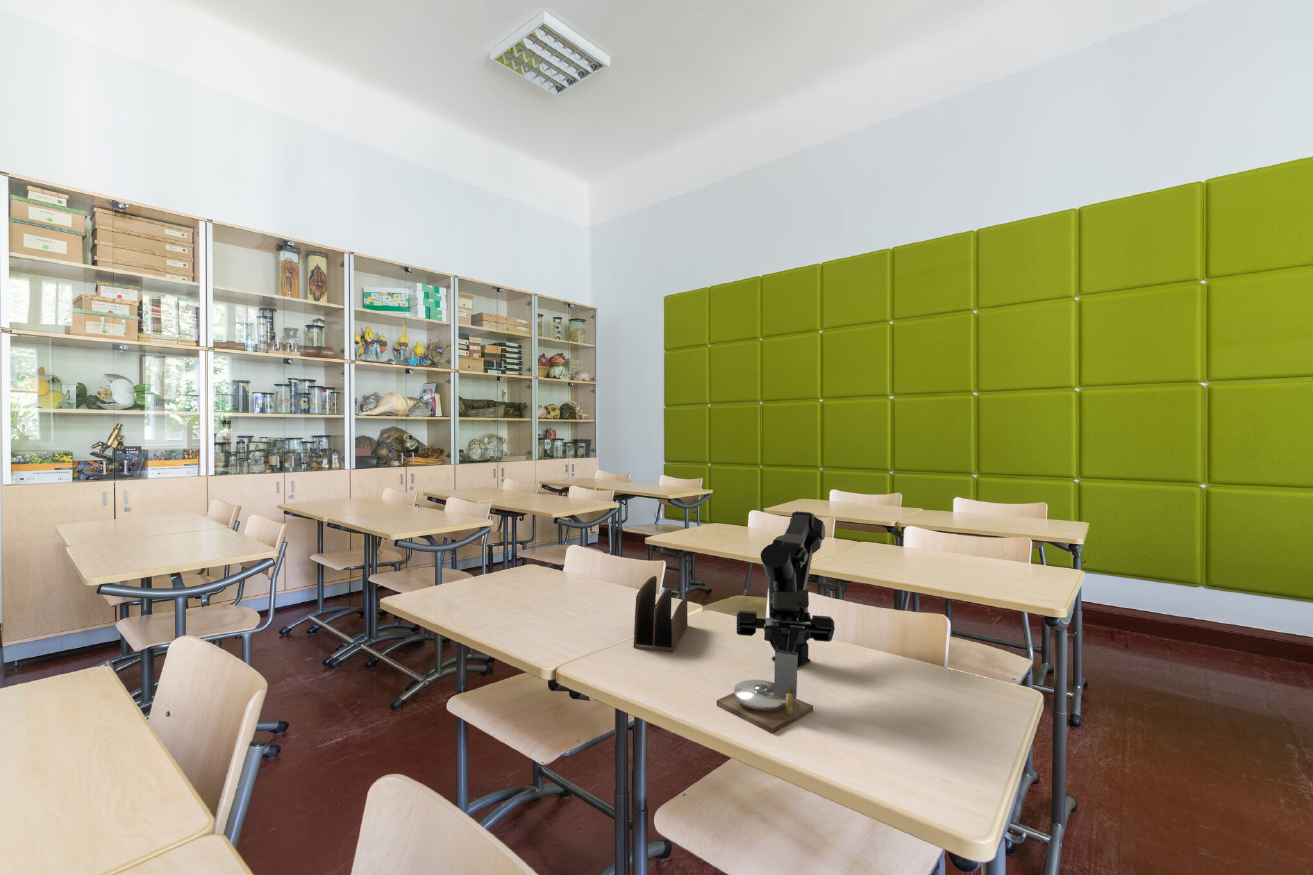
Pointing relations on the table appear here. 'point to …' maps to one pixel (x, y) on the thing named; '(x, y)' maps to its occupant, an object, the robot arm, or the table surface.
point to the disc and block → (771, 685)
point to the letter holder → (658, 619)
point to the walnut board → (767, 712)
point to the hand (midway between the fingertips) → (785, 668)
